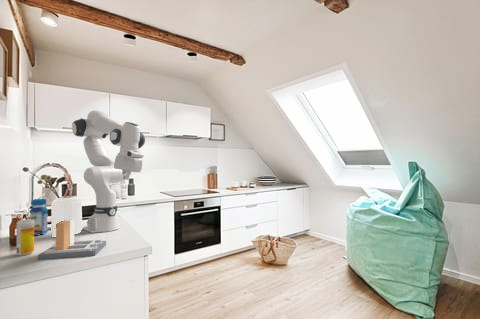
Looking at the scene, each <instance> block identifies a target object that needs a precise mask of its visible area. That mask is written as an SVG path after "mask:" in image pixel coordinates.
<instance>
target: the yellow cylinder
mask: <svg viewBox="0 0 480 319" xmlns="http://www.w3.org/2000/svg"><path fill="white" fill-rule="evenodd" d="M34 252H35V236H34V220H33V219H30V218H28V219H27V218H26V219H20V220H18V221H17V222H16V255H17V256H18V255H19V257H23V256H24V257H25V256H30V255H31V254H33V253H34Z"/></svg>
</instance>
